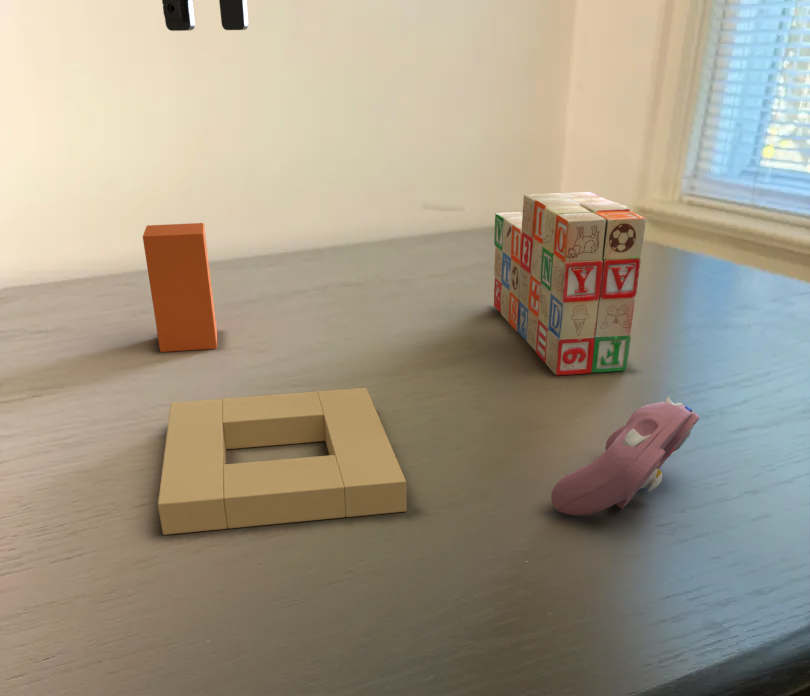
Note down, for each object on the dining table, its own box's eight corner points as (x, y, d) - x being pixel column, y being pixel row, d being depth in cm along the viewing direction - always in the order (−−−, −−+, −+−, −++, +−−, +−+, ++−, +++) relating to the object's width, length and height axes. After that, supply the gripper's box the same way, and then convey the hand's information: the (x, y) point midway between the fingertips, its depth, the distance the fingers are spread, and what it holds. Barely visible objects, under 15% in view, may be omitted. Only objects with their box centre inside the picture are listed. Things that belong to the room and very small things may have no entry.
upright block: (160, 352, 79) (142, 236, 74) (163, 336, 83) (146, 225, 78) (217, 348, 80) (203, 233, 75) (217, 332, 84) (203, 222, 79)
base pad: (162, 535, 50) (157, 504, 49) (174, 428, 64) (170, 402, 63) (406, 511, 52) (406, 481, 51) (367, 413, 66) (366, 387, 65)
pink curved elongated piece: (602, 554, 51) (671, 466, 46) (539, 504, 51) (601, 414, 47) (660, 488, 58) (725, 407, 53) (604, 446, 59) (663, 362, 54)
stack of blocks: (491, 307, 91) (495, 178, 84) (550, 304, 91) (559, 176, 85) (556, 376, 72) (568, 218, 66) (629, 371, 73) (647, 214, 67)
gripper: (190, -203, 71) (214, 31, 79) (76, -248, 59) (117, 31, 67) (274, -212, 69) (290, 29, 77) (172, -261, 57) (203, 30, 65)
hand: (209, 30), depth 72 cm, fingers open, 8 cm apart
